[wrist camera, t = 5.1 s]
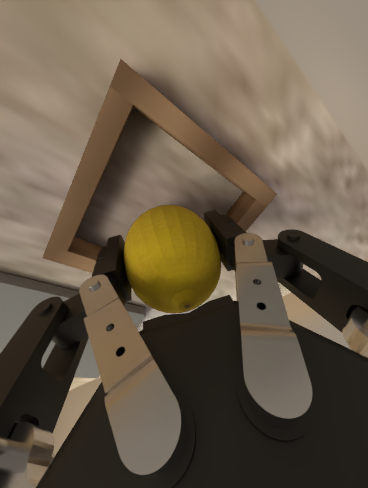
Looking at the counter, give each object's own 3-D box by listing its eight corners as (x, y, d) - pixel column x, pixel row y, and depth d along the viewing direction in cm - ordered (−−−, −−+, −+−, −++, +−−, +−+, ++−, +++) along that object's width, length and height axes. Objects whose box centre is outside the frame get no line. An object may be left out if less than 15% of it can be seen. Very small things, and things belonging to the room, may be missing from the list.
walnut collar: (52, 242, 14) (42, 257, 13) (123, 69, 10) (120, 58, 9) (182, 286, 20) (186, 300, 18) (262, 186, 16) (277, 194, 14)
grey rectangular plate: (-72, 358, 18) (-82, 369, 17) (-58, 257, 13) (-71, 266, 12) (98, 369, 25) (97, 378, 24) (144, 307, 21) (145, 315, 20)
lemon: (182, 258, 17) (213, 344, 10) (119, 246, 15) (106, 344, 8) (208, 201, 14) (269, 267, 8) (136, 178, 12) (139, 240, 6)
